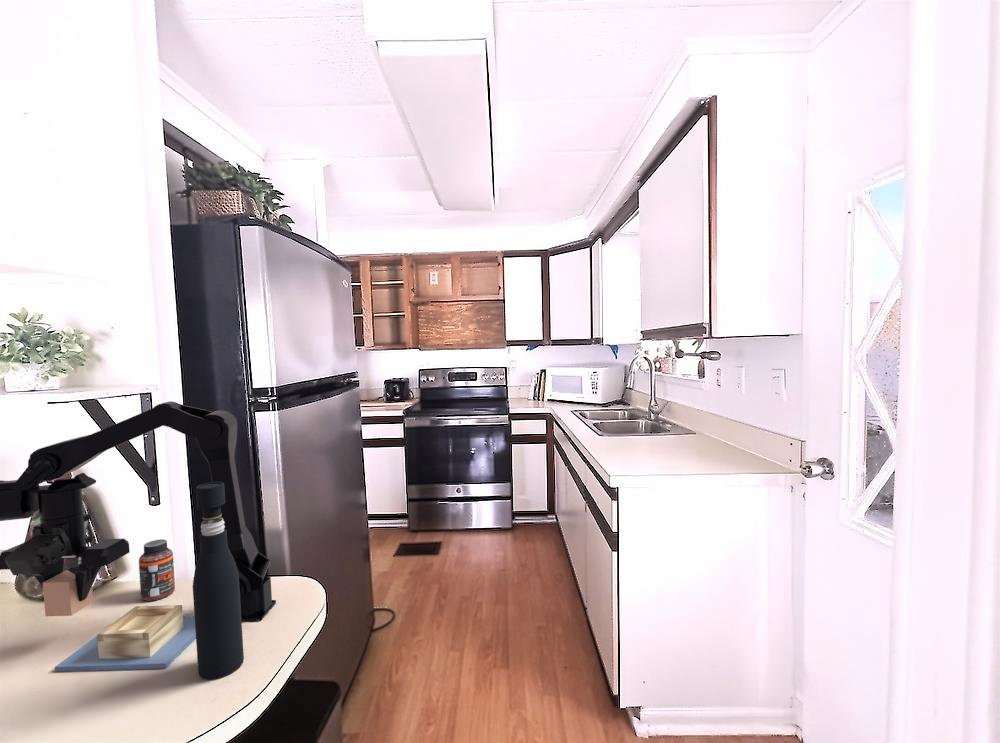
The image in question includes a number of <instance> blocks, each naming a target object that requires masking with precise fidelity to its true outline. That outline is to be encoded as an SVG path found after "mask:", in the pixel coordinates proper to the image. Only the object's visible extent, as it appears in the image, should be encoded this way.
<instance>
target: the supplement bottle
mask: <svg viewBox="0 0 1000 743" xmlns="http://www.w3.org/2000/svg"><path fill="white" fill-rule="evenodd" d="M167 541H168V540H167V539H161V538H160V539H154V540H150V541H148V542H145V543H144V544H143V553H142V554H141V555H140V556H139V557H138V558H139V559H138V569H139V570H138V571H139V572H138V573H139V587H140V588H139V589H140V598H141V600H143V601H148V602H150V601H157V600H162V599H164V598H167V597H169V596H170V595H171V594H173V593H174V592H175V589H176V581H175V579H176V577H175V565H174V563H175V561H174V553H173V552H174V551H173V550H172V549H171V548H169V547H168V542H167Z"/></svg>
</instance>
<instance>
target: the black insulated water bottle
mask: <svg viewBox="0 0 1000 743" xmlns="http://www.w3.org/2000/svg"><path fill="white" fill-rule="evenodd" d="M195 494H196V495H195V497H196V508H197V509H200V510H202V518H201V519H202V520H203V521H201V525H200V529H201V530H200V532H201V533H200V534H199V536H198V537H199V550H200V552H199V556H198V559H197V561H196V565H195V568H194V574H193V581H192V599H193V614H194V615H193V616H195V631H196V639H195V643H196V655H197V656H196V657H197V658H196V660H197V671H198V676H199V678H201V679H202V680H206V681H210V680H211V681H212V680H213V681H214V680H217V679H221V678H224V677H226V676H229V675H231V674H233V673H234V672H236V671H237V670H238V669H239V668H240V667H241V666H242V665H243V663H244V661H245V660H244V659H245V657H244V656H245V655H244V640H243V621H242V620H241V603H240V587H239V574H238V570H237V567H236V563H235V560H234V558H233V556H232V554H231V552H230V550H229V548H228V544H227V530H226V529H224V528H225V526H224V523H225V522H224V521H223V518H220V517H221V516H222V514H221V505H223V504H225V489H224V483H223V482H212V481H210V482H205V483H201V484H198V485H197V486H196V487H195Z"/></svg>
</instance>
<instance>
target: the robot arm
mask: <svg viewBox="0 0 1000 743" xmlns="http://www.w3.org/2000/svg"><path fill="white" fill-rule="evenodd" d="M163 426H164V427H167V428H170V429H172V430H174V431H176V432H178V433H181V434H184V435H187V436H190V437H194V438H195V440H196V443H197V445H198V448H199V450H200V452H201V454H202V455H203V457H204V458H205V460H206V461H207V463H208V466H209V468H208V469H209V473H210V479H211V480H210V482H223V483H224V489H225V504H223V505H221V514H222V516H221V517H220V518H223V521H224V522H225V523H224V526H225V528H224V529H226V530H227V544H228V548H229V550H230V552H231V554H232V556H233V558H234V560H235V563H236V567H237V570H238V574H239V587H240V603H241V620H242V622H243V621H244V622H247V621H248V622H250V621H251V622H253V621H261V620H263V619H264V618H265V617H266V616H267V614H268V613H269V612H270V610H272V608H273V607H274V606H275V605H276V603H277V600H276V599H273V596H272V579H271V576H267V575H266V574H267V571H268V570H269V567H270V564H271V559H270V558H268V557H266V556H265V555H264V554H263V553H261V552H259V550H258V546H257V545H256V542H255V540H254V536H253V535H252V533H251V531H250V530H249V529H248V527H247V525H246V522H245V515H244V510H243V509H244V508H243V503H242V495H241V490H240V485H239V478H238V477H239V476H238V473H237V472H238V471H237V467H236V460H235V452H236V446H237V442H238V440H237V439H238V420H237V418H236V417H235V415H234V414H233V413H230V412H229V411H226V410H216V411H215V410H214V411H211V410H207V409H205V408H199V407H194V406H189V405H185V404H182V403H181V404H180V403H179V402H176V401H166V402H162V403H159V404H156V405H155V406H154V407H152V408H150V409H148V410H146V411H143V412H140V413H138V414H136V415H133V416H131V417H129V418H127V419H124V420H122V421H119V422H117V423H115V424H112V425H110V426H107V427H106V428H103V429H100V430H98V431H96V432H93V433H91V434H88V435H87V434H86V435H83V436H78V437H74V438H71V439H67V440H63V441H58V442H56V443H53V444H50V445H47V446H46V445H45V446H44V447H39V448H38V449H36V450H34V451H33V452H32V453H31V454H29V458H28V460H27V461H28V462H27V467H26V468H25V470H24V471H23V472H22V474H21V475H20V476H19V477H18V478H17V479H16V480H3V479H2V480H1V479H0V522H5V521H13V520H14V521H15V520H23V519H24V520H25V519H29V518H31V517H32V516H33V515H34V514H35V513H36V512H39V524H37V525H34V526H33V527H32V528H33V529H32V530H31V532H32V534H31V538H30V539H29V540H27V541H24V542H22V543H20V544H18V545H15V546H13V547H11V548H8V549H6V550H3V551H2V552H1V553H0V571H2V570H4V571H6V570H9V571H10V572H11V573H12V576H19V575H30V576H33V577H34V578H35V579H36V581H37V582H38V583H39V584H40V585H41V587H42V588H43V582H45V581H47V580H49V579H51V578H53V577H55V576H56V575H58V574H60V573H62V572H64V564H65V560H66V559H67V560H68V559H70V560H71V559H77V560H78V561H77V564H76V565H74V566H72V567H70V568H69V569H68V571H70V572H71V573H73V574H75V577H76V586H77V594H78V598H79V601H83V600H84V599H86V598H87V596H88V593H89V591H90V589H91V587H92V588H93V584H94V582H95V579H96V578H97V576H98V574H99V572H100V570H101V569H102V567H105V566H106V567H107V566H109V565H110V564H112V563H114V562H115V561H117V560H119V559H120V558H122V557H124V556H126V555H127V554H129V553H131V551H130V543H129V540H127V539H125V538H105V539H103V540H101V541H99V542H97V543H95V544H93V545H91V546H89V545H88V544H89V543H92V542H93V536H92V535H86V527H85V526H86V525H85V522H88V521H89V520H91V514H90V513H84V512H85V511H84V501H83V489H87V488H89V487H90V486H92V485H95V484H96V482H97V480H96V479H95V478H94V477H91V476H88V474H86V473H85V472H81V473H78V474H76V475H75V476H74V477H71V478H61V477H64V476H66V475H68V474H71V473H73V472H75V471H77V470H79V469H80V468H82V467H83V466H84V467H85V465H87V464H89V463H90V462H92V461H93V460H95V459H96V458H97V457H99V456H100V455H101V454H103V453H105V452H106V451H108V450H110V449H112V448H115V447H117V446H119V445H122V444H124V443H126V442H129V441H131V440H133V439H136V438H138V437H140V436H143V435H145V434H147V433H150V432H151V431H154V430H156V429H159V428H161V427H163ZM53 480H54V481H53ZM48 481H52V482H51V483H50V484H45V485H40V484H43V483H45V482H48Z"/></svg>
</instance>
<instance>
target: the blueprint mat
mask: <svg viewBox="0 0 1000 743" xmlns="http://www.w3.org/2000/svg"><path fill="white" fill-rule="evenodd" d="M183 625H184V627H183V628H182V629H181V630H180V631H179V632H178V633H177V634H175V635H174V636H173V637H172V638H171V639H170V640H169V641H168V642H167V643H166V644H164V645H163V646H162V647H161V648H160V649H159V650H158V651H157V652H156V653H154V654H153V655H152V656H151V657H142V658H110V659H99V652H98V640H97V635H96V636H95V637H94V638H92V639H90V641H88V642H87V643H85V644H84V645H82V646H81V647H80V648H78V649H77V650H75V651H74V652H73V653H72V654H70V655H69V656H68V657H66V658H64V659H63V660H62V661H61V662H59V663H58V664H57V665H55V666H54V672H55V673H59V672H61V673H63V672H87V671H88V672H89V671H90V672H91V671H94V672H95V671H119V670H121V671H122V670H123V671H124V670H149V669H153V670H154V669H167V668H168V667H169V666H170V665H171V664H172V663H173V662H175V660H177V658H178V657H179V656H180V655H182V653H184V651H186V649H187V648H188V647H189V646H190V645H191V644H192V643H193V642H195V641H196V631H195V615H183ZM174 659H175V660H174Z"/></svg>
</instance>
